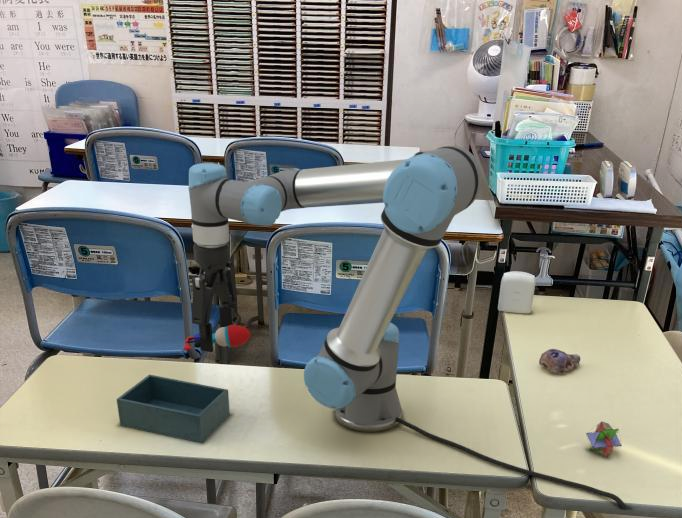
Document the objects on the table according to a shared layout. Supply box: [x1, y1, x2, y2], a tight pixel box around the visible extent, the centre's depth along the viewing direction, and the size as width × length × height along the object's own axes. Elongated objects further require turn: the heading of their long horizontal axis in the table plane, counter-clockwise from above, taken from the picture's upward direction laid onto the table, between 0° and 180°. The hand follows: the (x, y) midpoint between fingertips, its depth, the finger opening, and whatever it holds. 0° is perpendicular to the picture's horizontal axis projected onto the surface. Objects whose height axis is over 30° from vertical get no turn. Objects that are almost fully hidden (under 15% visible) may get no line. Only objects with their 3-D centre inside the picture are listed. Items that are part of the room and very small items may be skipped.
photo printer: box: [497, 270, 536, 315], centre depth 233 cm, size 10×4×12 cm, turn 78°
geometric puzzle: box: [585, 420, 623, 459], centre depth 165 cm, size 7×7×8 cm
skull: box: [538, 348, 581, 375], centre depth 201 cm, size 12×8×6 cm, turn 107°
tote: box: [116, 374, 231, 444], centre depth 172 cm, size 20×13×7 cm, turn 71°
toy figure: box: [182, 324, 251, 351], centre depth 172 cm, size 8×5×15 cm
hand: (217, 342), depth 172 cm, fingers closed on toy figure, 8 cm apart
